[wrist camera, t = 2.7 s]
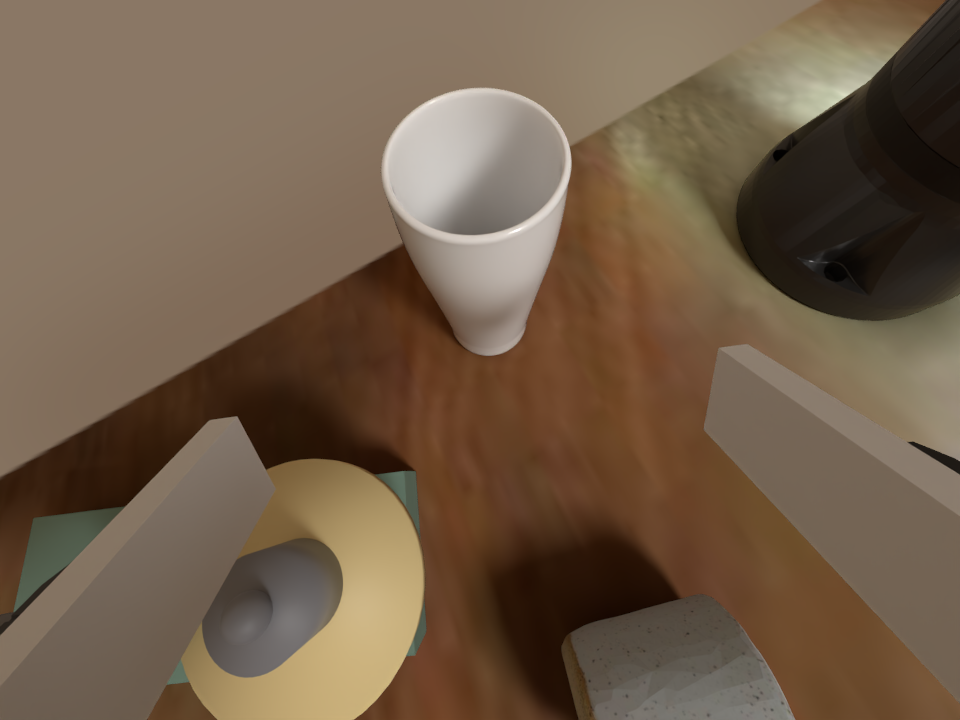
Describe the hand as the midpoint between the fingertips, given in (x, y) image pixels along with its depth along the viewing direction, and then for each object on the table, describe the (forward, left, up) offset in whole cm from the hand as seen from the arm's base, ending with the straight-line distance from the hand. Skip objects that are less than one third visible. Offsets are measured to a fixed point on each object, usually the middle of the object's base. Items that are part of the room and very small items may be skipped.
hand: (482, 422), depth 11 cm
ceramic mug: (-7, +14, -15) cm, 22 cm away
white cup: (-1, -9, -15) cm, 17 cm away
